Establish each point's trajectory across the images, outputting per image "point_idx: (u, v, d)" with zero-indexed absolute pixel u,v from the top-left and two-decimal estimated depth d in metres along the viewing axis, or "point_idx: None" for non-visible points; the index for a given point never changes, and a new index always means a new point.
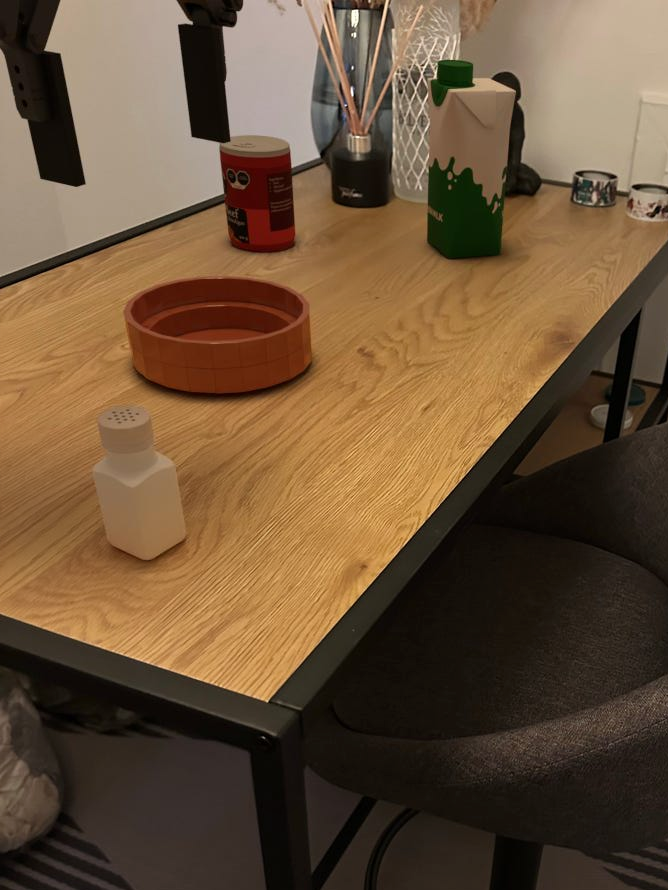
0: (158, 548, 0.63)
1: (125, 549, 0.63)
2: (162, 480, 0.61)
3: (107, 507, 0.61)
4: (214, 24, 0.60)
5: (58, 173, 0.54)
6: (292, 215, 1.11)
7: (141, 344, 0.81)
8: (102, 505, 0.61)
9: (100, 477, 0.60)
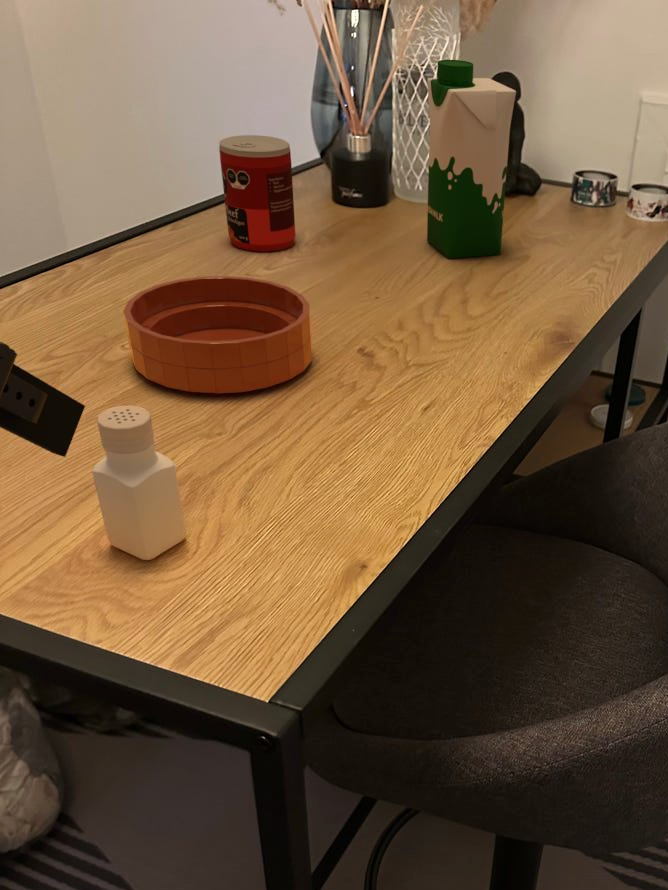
0: (158, 548, 0.63)
1: (125, 549, 0.63)
2: (162, 480, 0.61)
3: (107, 507, 0.61)
4: None
5: None
6: (292, 215, 1.11)
7: (141, 344, 0.81)
8: (102, 505, 0.61)
9: (100, 477, 0.60)
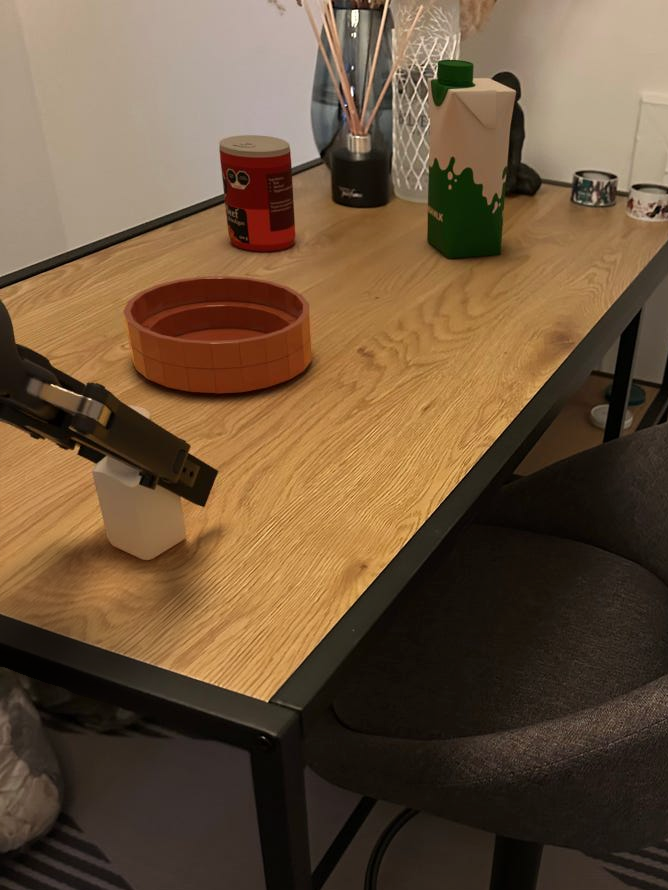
0: (158, 548, 0.63)
1: (125, 549, 0.63)
2: None
3: (107, 507, 0.61)
4: None
5: None
6: (292, 215, 1.11)
7: (141, 344, 0.81)
8: (102, 505, 0.61)
9: (100, 477, 0.60)
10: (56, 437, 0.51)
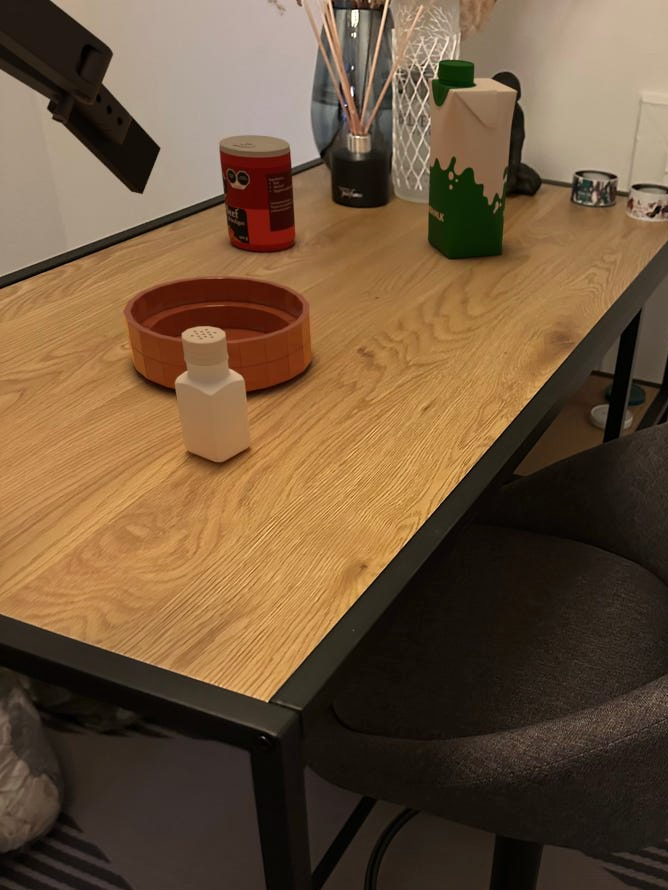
0: (228, 452, 0.73)
1: (200, 453, 0.73)
2: (234, 391, 0.71)
3: (186, 414, 0.72)
4: None
5: None
6: (292, 215, 1.11)
7: (141, 344, 0.81)
8: (182, 413, 0.72)
9: (182, 388, 0.70)
10: None
